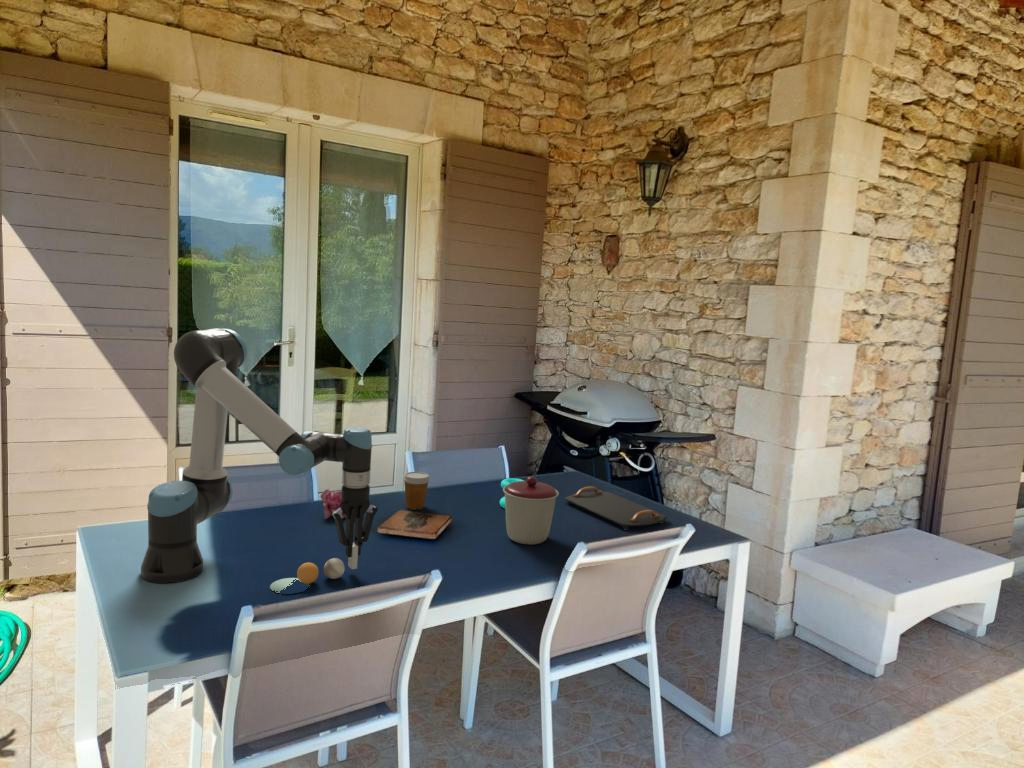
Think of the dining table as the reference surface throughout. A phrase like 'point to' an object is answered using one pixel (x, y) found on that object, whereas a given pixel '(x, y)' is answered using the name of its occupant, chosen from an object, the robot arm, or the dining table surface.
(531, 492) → the canister
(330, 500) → the flower
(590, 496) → the serving board
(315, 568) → the orange ball
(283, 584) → the pale green flat disc
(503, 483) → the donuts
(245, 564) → the dining table surface
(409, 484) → the disposable coffee cup
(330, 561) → the ivory ball
